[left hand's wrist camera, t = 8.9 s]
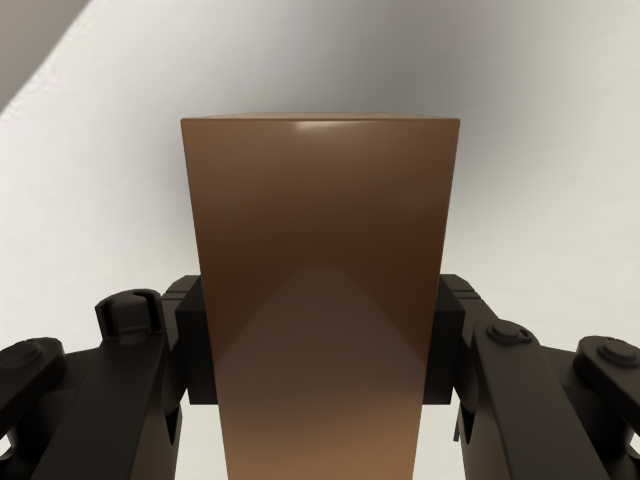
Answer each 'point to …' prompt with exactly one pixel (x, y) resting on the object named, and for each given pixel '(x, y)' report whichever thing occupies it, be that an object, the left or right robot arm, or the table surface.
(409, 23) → the table surface
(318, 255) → the bar
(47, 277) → the table surface
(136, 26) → the table surface
